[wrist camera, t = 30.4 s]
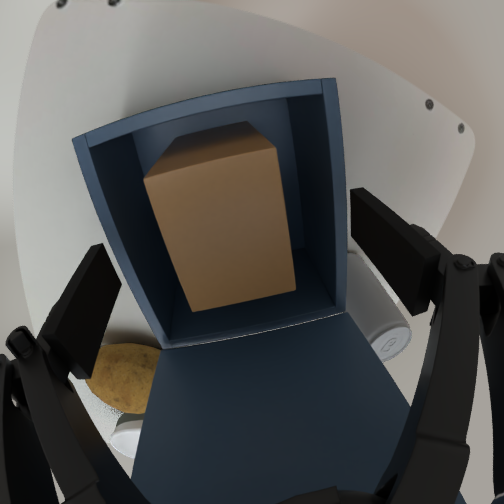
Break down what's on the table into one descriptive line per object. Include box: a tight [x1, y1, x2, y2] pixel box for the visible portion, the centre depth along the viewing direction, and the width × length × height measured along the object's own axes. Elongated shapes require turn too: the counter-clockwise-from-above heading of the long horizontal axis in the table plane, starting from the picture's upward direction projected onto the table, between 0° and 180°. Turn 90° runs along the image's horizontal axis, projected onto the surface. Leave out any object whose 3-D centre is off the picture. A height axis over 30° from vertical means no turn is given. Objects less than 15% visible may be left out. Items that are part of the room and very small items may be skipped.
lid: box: [131, 312, 466, 504], centre depth 15 cm, size 18×15×8 cm
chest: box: [72, 78, 347, 349], centre depth 22 cm, size 17×15×10 cm
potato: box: [85, 343, 161, 414], centre depth 32 cm, size 10×13×9 cm
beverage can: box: [343, 253, 412, 362], centre depth 27 cm, size 5×5×12 cm
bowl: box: [110, 413, 145, 459], centre depth 41 cm, size 19×19×8 cm
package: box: [143, 121, 296, 312], centre depth 19 cm, size 6×8×12 cm
